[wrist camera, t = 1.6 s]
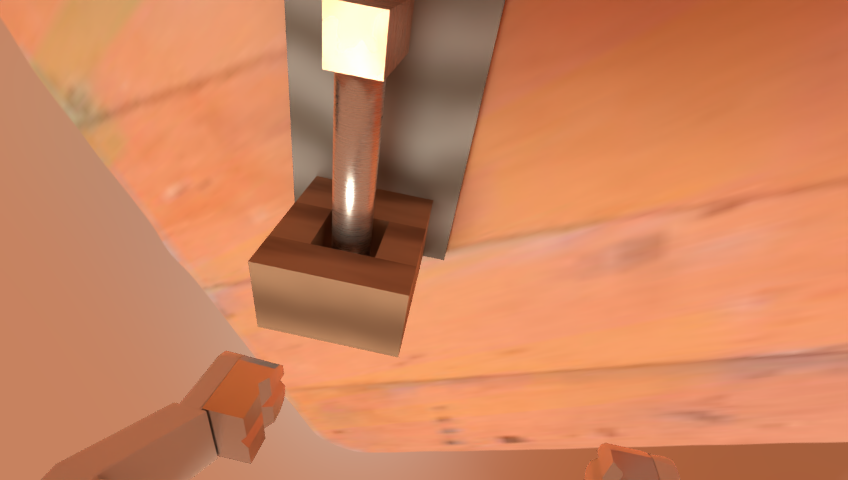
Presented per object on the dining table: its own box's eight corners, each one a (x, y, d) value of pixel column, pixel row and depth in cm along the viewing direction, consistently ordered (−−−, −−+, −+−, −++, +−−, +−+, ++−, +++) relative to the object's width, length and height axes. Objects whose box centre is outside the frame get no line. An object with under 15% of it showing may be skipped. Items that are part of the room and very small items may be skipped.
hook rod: (363, -14, 24) (321, -3, 18) (414, -4, 24) (389, 10, 18) (349, 254, 37) (322, 310, 31) (383, 261, 37) (362, 319, 31)
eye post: (278, -328, 19) (26, -653, 9) (569, -278, 19) (658, -557, 8) (301, 221, 38) (230, 320, 28) (445, 252, 38) (426, 363, 27)
